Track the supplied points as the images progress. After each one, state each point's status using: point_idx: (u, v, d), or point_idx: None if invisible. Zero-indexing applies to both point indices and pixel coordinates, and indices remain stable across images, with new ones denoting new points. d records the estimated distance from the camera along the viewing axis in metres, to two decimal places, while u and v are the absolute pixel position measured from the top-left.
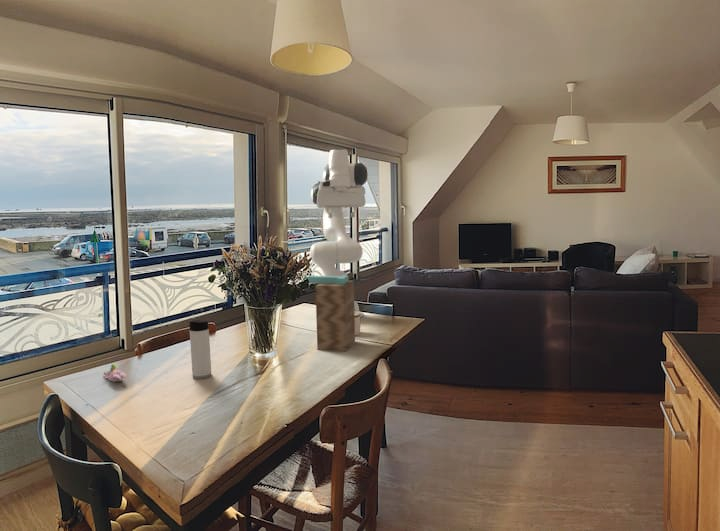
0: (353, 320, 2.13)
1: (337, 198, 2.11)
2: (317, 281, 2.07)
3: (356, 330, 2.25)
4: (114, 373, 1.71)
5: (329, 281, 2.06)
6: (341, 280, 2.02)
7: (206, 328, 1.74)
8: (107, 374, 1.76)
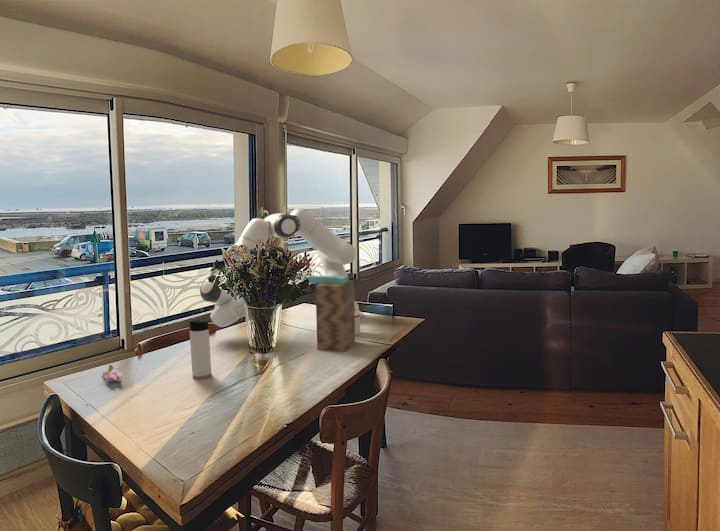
0: (353, 320, 2.13)
1: None
2: (317, 281, 2.07)
3: (356, 330, 2.25)
4: (111, 373, 1.71)
5: (329, 281, 2.06)
6: (341, 280, 2.02)
7: (206, 328, 1.74)
8: (105, 374, 1.76)
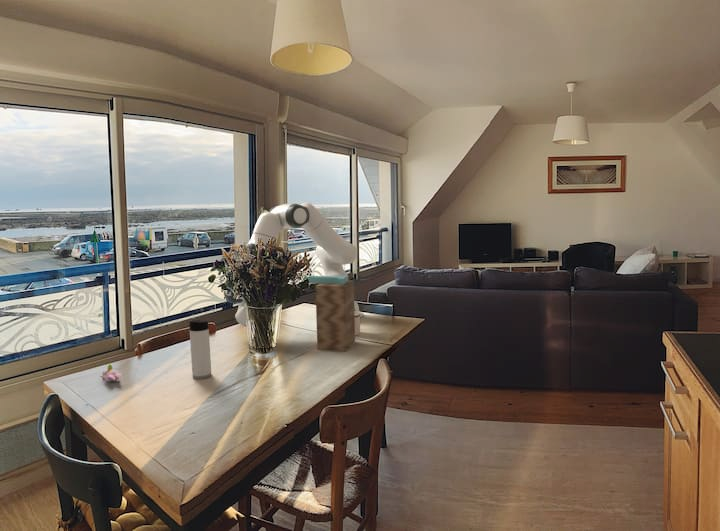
0: (353, 320, 2.13)
1: None
2: (317, 281, 2.07)
3: (356, 330, 2.25)
4: (109, 373, 1.71)
5: (329, 281, 2.06)
6: (341, 280, 2.02)
7: (206, 328, 1.74)
8: (105, 374, 1.76)
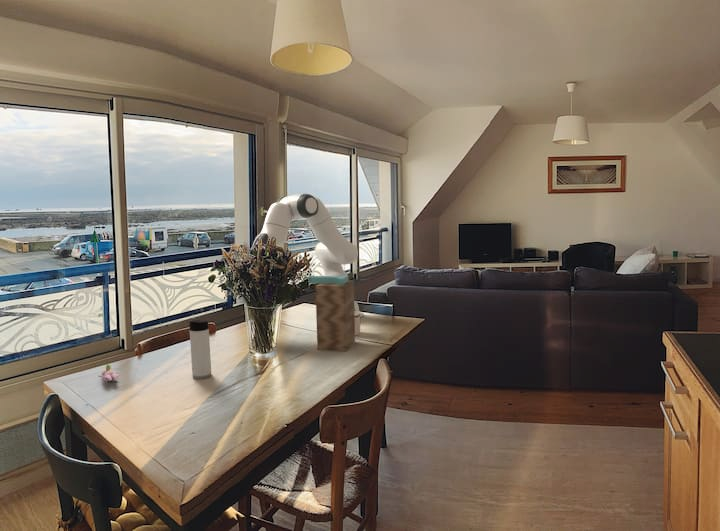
0: (353, 320, 2.13)
1: None
2: (317, 281, 2.07)
3: (356, 330, 2.25)
4: (107, 373, 1.71)
5: (329, 281, 2.06)
6: (341, 280, 2.02)
7: (206, 328, 1.74)
8: (103, 374, 1.76)
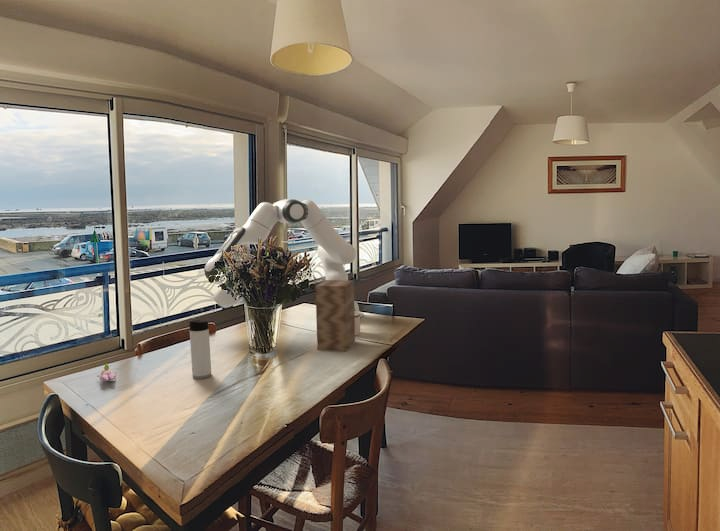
0: (353, 320, 2.13)
1: None
2: None
3: (356, 330, 2.25)
4: (104, 373, 1.71)
5: None
6: None
7: (206, 328, 1.74)
8: (102, 373, 1.76)
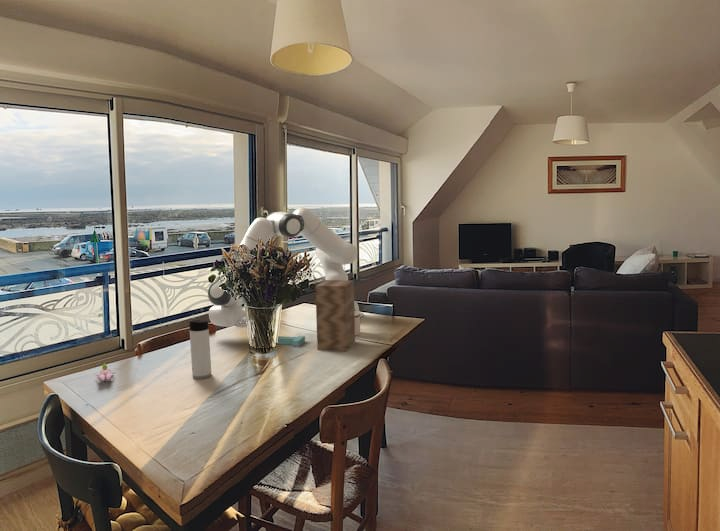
0: (353, 320, 2.13)
1: None
2: None
3: (356, 330, 2.25)
4: (101, 373, 1.71)
5: (286, 342, 2.14)
6: (296, 342, 2.10)
7: (206, 328, 1.74)
8: (101, 373, 1.77)
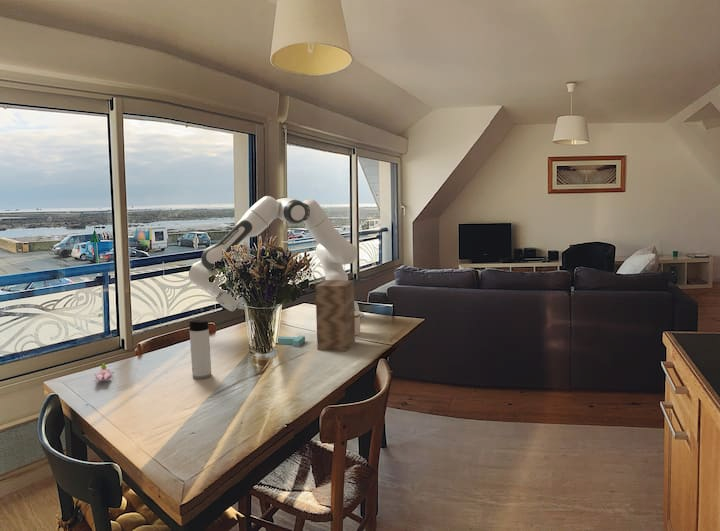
0: (353, 320, 2.13)
1: None
2: None
3: (356, 330, 2.25)
4: (100, 373, 1.72)
5: (286, 342, 2.14)
6: (296, 342, 2.10)
7: (206, 328, 1.74)
8: None
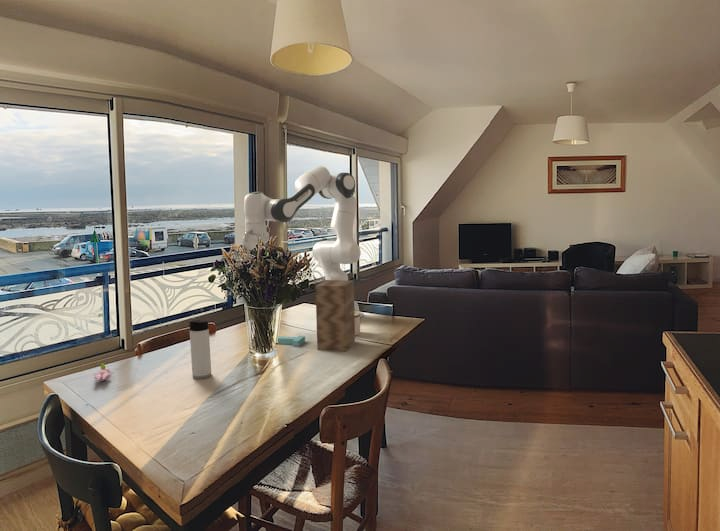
0: (353, 320, 2.13)
1: None
2: None
3: (356, 330, 2.25)
4: (98, 373, 1.72)
5: (286, 342, 2.14)
6: (296, 342, 2.10)
7: (206, 328, 1.74)
8: None
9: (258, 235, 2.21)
